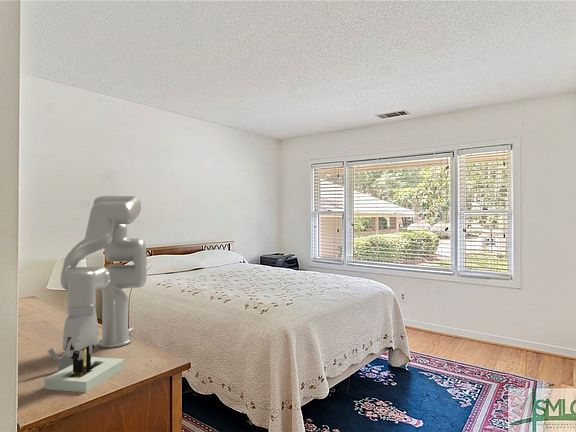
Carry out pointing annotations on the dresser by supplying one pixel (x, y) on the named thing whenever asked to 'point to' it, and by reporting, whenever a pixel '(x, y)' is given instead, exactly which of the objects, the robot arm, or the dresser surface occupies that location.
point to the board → (96, 376)
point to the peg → (84, 357)
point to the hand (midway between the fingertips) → (82, 369)
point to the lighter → (61, 360)
